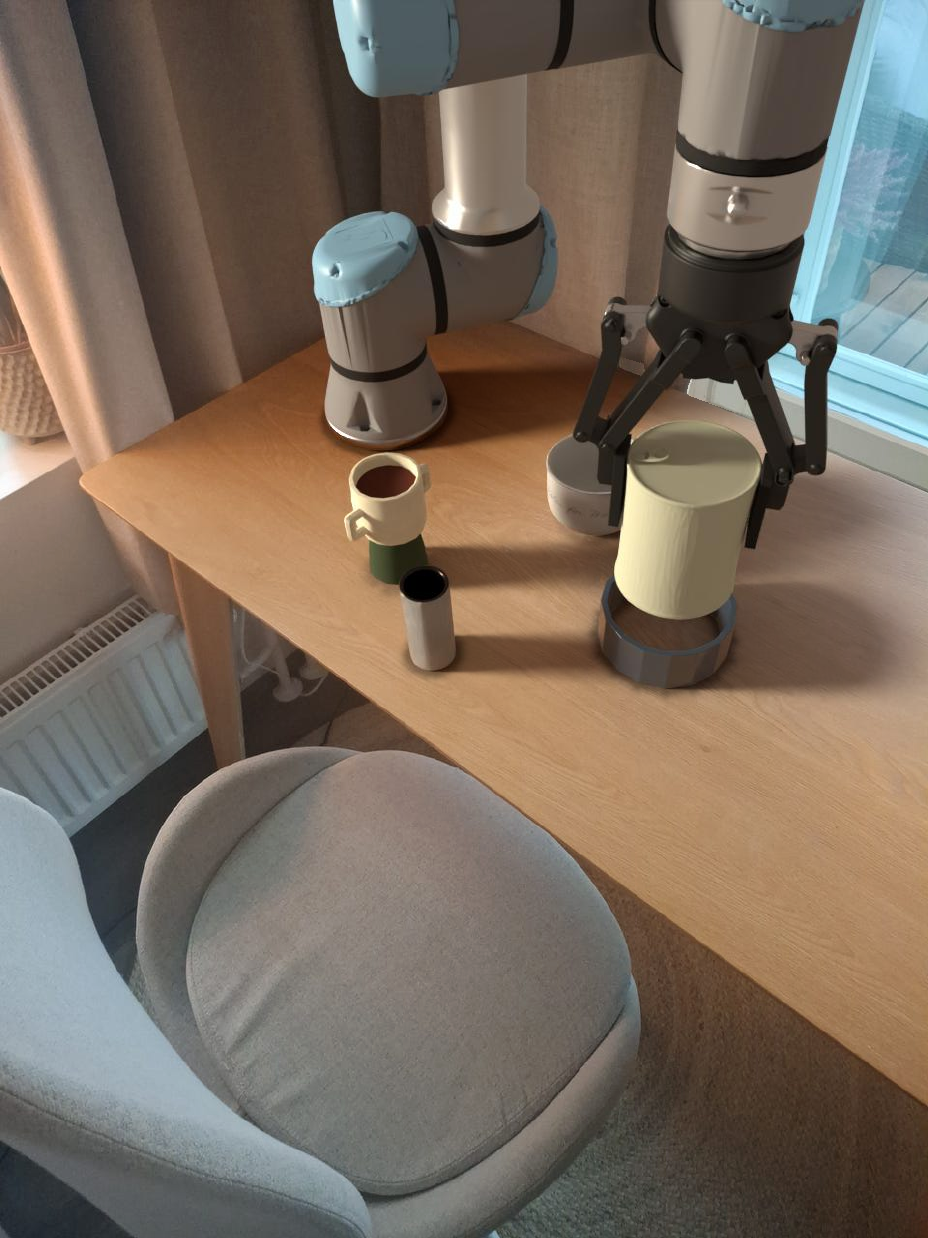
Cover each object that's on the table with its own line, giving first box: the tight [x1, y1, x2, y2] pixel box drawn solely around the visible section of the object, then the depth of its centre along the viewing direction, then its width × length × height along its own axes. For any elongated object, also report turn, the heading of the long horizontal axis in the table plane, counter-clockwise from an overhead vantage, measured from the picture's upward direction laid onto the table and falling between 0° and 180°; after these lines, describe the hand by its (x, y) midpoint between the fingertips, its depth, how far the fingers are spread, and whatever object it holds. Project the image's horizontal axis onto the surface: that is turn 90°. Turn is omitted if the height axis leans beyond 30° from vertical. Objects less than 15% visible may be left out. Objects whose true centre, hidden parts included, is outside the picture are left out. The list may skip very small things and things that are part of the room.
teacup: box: [545, 433, 635, 537], centre depth 97 cm, size 14×11×8 cm
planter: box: [398, 564, 457, 671], centre depth 85 cm, size 4×4×10 cm
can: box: [613, 419, 763, 620], centre depth 66 cm, size 9×9×12 cm
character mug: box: [344, 451, 432, 586], centre depth 92 cm, size 11×7×13 cm, turn 135°
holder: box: [597, 573, 739, 689], centre depth 87 cm, size 12×12×5 cm
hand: (682, 524), depth 67 cm, fingers closed on can, 9 cm apart
